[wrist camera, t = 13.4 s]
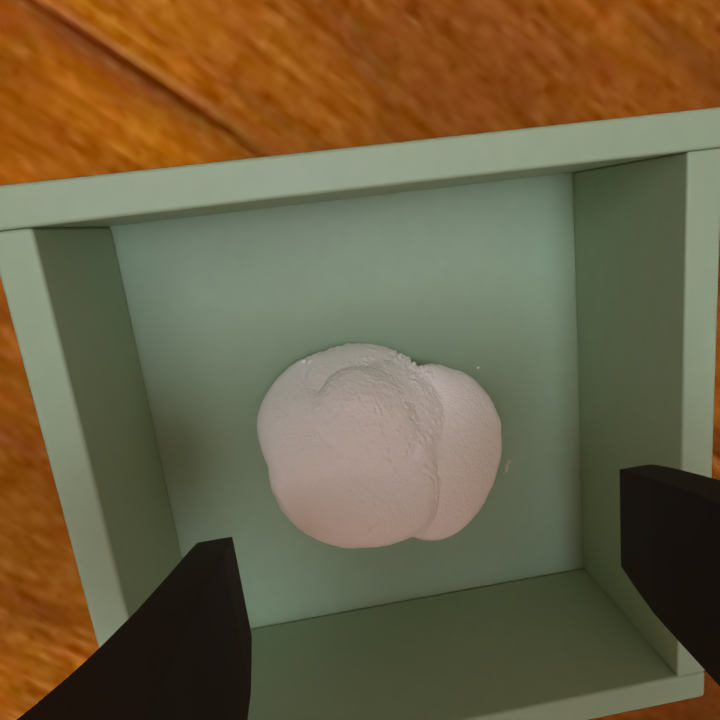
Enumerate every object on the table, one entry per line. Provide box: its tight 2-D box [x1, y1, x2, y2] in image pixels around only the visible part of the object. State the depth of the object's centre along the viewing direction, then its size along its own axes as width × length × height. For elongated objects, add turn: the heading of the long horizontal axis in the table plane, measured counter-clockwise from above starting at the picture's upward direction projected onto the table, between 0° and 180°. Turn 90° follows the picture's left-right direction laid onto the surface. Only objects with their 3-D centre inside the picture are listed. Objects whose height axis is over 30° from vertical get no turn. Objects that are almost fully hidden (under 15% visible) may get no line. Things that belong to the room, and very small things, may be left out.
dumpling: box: [257, 343, 511, 549], centre depth 16 cm, size 7×5×4 cm
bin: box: [0, 107, 720, 720], centre depth 16 cm, size 15×15×6 cm
